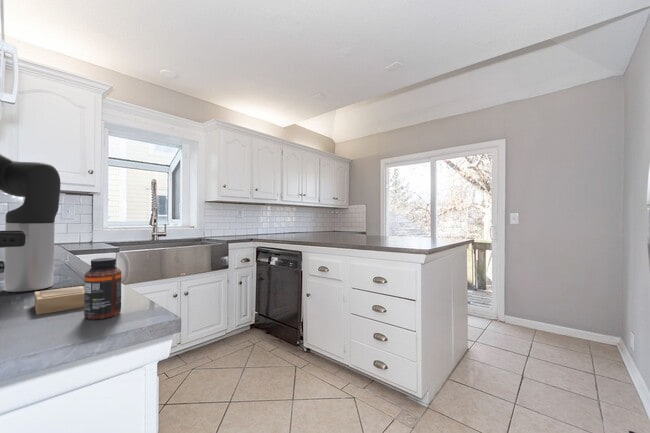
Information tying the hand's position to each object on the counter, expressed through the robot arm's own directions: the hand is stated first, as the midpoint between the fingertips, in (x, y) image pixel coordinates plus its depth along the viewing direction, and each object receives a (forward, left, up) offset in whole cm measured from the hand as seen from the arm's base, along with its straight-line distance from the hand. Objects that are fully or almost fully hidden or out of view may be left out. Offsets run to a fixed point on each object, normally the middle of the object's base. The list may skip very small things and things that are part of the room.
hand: (24, 237), depth 51 cm
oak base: (-13, +6, -16) cm, 22 cm away
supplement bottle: (0, +11, -16) cm, 20 cm away
